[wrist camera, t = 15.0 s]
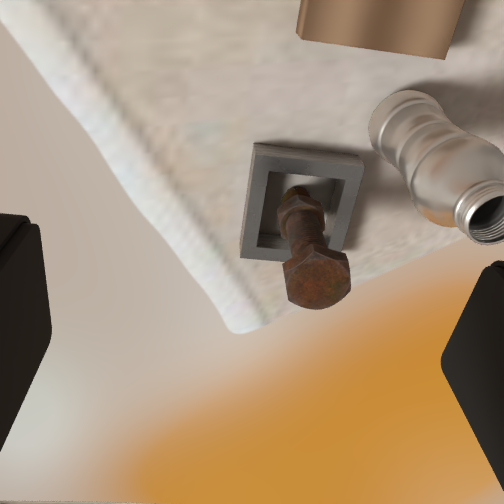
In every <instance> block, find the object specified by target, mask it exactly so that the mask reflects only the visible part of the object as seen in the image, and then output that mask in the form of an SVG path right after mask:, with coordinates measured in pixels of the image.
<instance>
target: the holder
mask: <svg viewBox="0 0 504 504" xmlns="http://www.w3.org/2000/svg"><path fill="white" fill-rule="evenodd" d="M364 169H365V166H364V164H363V163H362V161H361V159H360V158H359V156H358V155H352V154H343V153H335V152H326V151H318V150H309V149H301V148H292V147H283V146H275V145H266V144H258V143H254V145H253V152H252V159H251V166H250V173H249V180H248V188H247V195H246V202H245V209H244V216H243V223H242V230H241V237H240V258H247V259H258V260H269V261H280V262H286V261H287V260H289V259H290V258H292V255H291V251H290V246H289V241H288V240H286V239H284V238H282V237H281V235H275V234H264V233H259V228H260V222H261V216H262V210H263V204H264V198H265V191H266V185H267V179H268V173H269V171H272V172H281V173H290V174H299V175H308V176H317V177H326V178H336V179H337V180H336V184H335V188H334V192H333V196H332V200H331V204H330V208H329V212H328V216H327V220H326V224H325V230H324V232H323V236H324V238H325V241H326V244H327V246H328V248H329V249H332V250H335V251H339V252H341V251H342V247H343V244H344V240H345V237H346V233H347V230H348V226H349V223H350V219H351V215H352V212H353V208H354V205H355V201H356V198H357V194H358V190H359V187H360V183H361V180H362V176H363V173H364Z"/></svg>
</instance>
